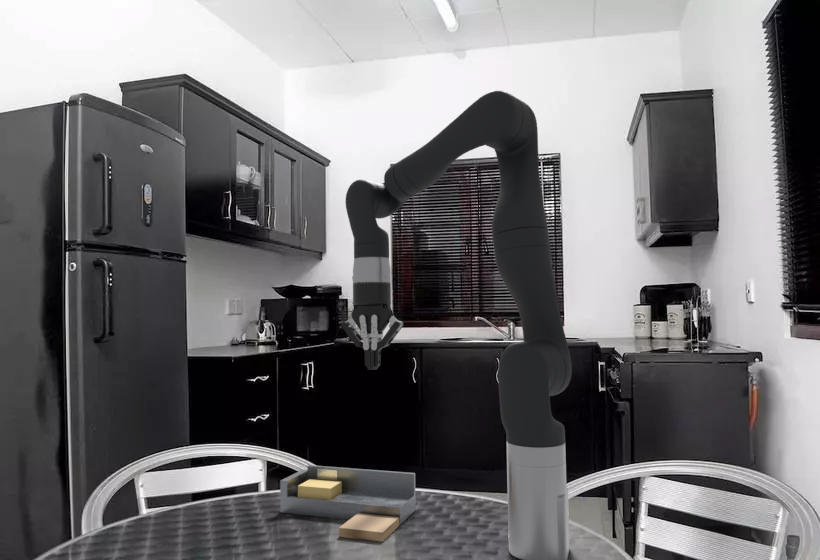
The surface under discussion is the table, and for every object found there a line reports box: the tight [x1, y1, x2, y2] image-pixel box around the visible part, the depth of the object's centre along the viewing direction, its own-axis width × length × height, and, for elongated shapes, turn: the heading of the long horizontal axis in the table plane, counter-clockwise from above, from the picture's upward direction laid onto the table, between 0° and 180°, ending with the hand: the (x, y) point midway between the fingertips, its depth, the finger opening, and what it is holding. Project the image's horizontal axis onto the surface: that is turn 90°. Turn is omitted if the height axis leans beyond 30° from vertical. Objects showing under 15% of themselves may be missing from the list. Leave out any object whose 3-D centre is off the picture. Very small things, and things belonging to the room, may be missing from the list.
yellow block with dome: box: [298, 479, 342, 500], centre depth 119 cm, size 5×5×8 cm
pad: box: [338, 513, 400, 542], centre depth 106 cm, size 8×8×2 cm
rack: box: [279, 464, 417, 526], centre depth 117 cm, size 24×9×7 cm, turn 71°
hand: (372, 369), depth 119 cm, fingers closed
